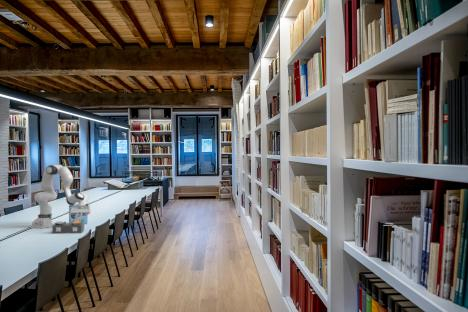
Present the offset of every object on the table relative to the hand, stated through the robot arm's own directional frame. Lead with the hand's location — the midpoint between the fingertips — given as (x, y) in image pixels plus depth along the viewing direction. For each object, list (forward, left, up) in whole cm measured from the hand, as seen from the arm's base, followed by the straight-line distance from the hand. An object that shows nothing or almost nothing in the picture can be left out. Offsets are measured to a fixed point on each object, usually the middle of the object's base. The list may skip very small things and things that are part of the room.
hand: (78, 217), depth 360 cm
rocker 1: (-16, -7, -4) cm, 18 cm away
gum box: (-11, +35, -15) cm, 40 cm away
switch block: (-8, -7, -14) cm, 18 cm away
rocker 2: (0, -7, -4) cm, 8 cm away
